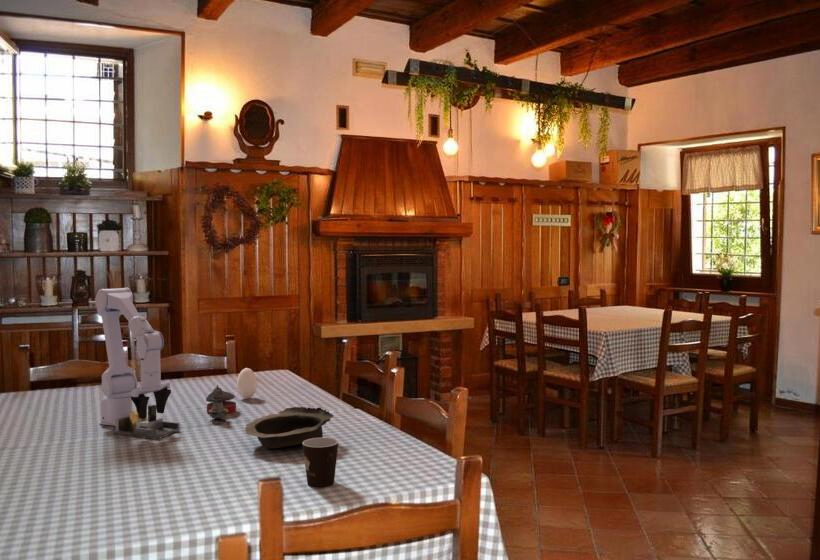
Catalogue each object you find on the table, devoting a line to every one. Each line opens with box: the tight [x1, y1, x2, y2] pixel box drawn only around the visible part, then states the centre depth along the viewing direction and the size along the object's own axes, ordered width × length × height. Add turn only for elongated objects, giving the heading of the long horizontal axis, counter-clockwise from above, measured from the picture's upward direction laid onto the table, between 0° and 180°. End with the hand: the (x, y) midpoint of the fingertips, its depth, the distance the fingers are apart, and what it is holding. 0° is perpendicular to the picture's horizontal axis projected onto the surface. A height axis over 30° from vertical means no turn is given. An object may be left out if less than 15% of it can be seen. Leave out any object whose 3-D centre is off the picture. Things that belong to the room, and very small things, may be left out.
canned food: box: [205, 390, 237, 416], centre depth 244 cm, size 11×10×10 cm
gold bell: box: [130, 408, 148, 430], centre depth 219 cm, size 5×5×6 cm
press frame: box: [113, 415, 181, 440], centre depth 217 cm, size 16×10×4 cm, turn 68°
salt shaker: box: [209, 384, 227, 424], centre depth 231 cm, size 6×6×12 cm
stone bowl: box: [244, 406, 334, 450], centre depth 203 cm, size 25×25×9 cm
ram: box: [136, 404, 164, 429], centre depth 217 cm, size 4×7×7 cm, turn 158°
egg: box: [236, 367, 258, 400], centre depth 266 cm, size 7×7×12 cm
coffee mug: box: [301, 437, 339, 489], centre depth 168 cm, size 12×9×10 cm
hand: (151, 415), depth 216 cm, fingers open, 7 cm apart
